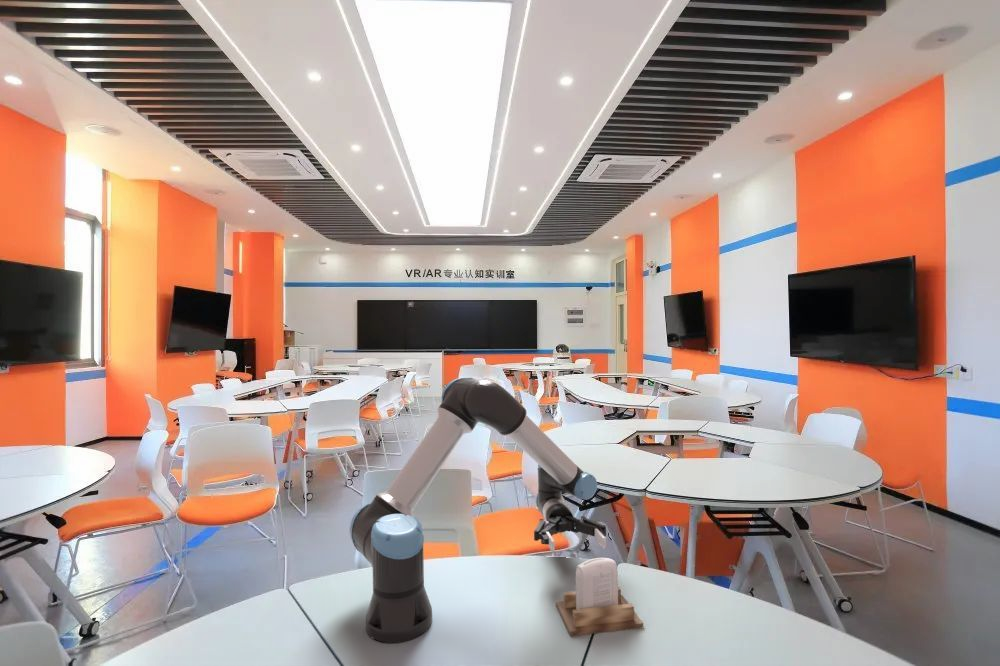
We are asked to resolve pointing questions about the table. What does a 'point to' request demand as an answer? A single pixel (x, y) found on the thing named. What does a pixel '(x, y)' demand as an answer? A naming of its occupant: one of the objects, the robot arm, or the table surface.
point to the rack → (597, 616)
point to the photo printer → (596, 583)
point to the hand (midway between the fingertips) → (579, 545)
